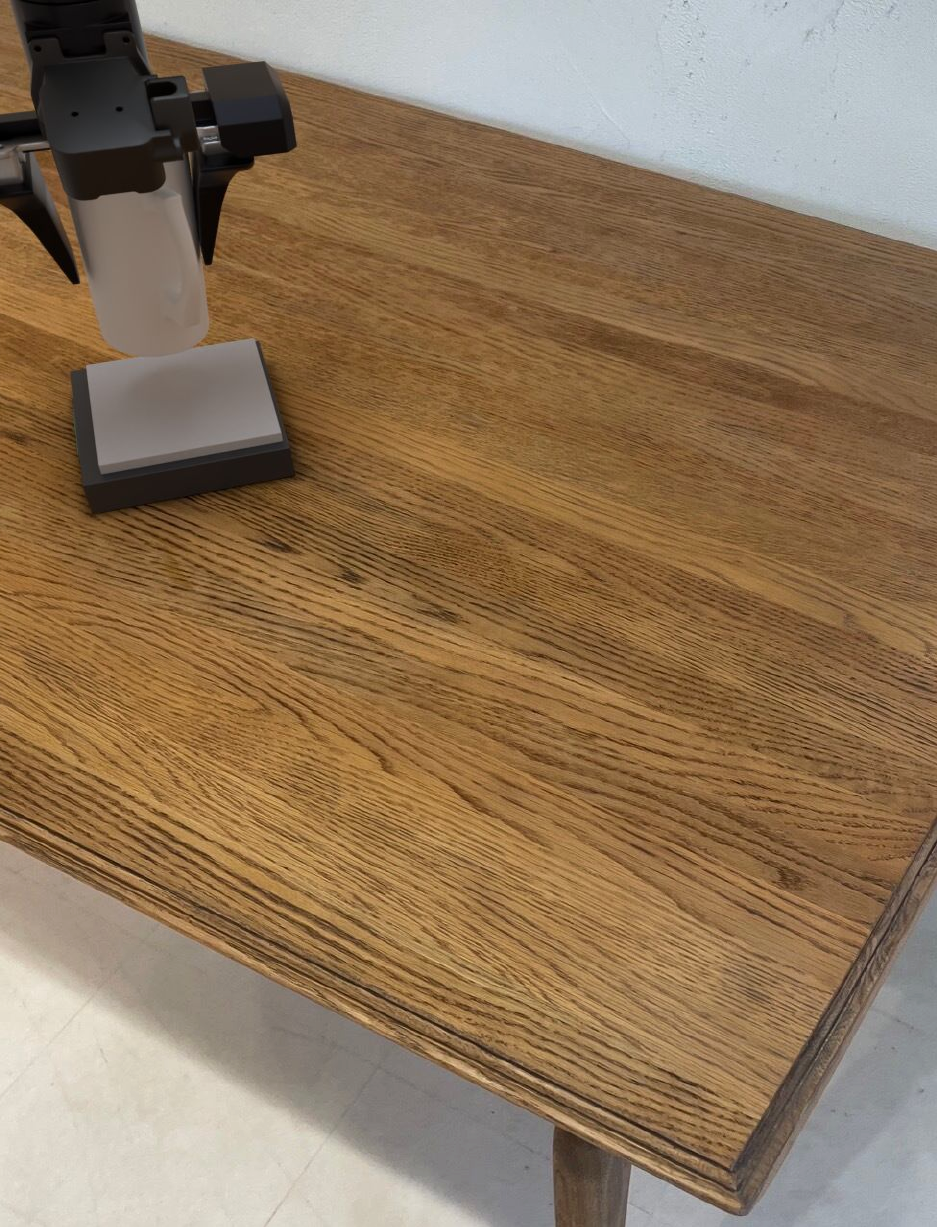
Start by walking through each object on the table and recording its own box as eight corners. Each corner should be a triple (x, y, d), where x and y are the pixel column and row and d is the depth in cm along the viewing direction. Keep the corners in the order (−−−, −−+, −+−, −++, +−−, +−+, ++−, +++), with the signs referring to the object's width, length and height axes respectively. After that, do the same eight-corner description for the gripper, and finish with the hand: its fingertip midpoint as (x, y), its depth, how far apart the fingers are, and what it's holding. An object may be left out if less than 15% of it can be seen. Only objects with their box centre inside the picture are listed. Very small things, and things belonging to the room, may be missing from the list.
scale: (89, 515, 77) (76, 477, 75) (76, 399, 85) (64, 362, 83) (295, 475, 80) (288, 438, 78) (264, 367, 88) (257, 331, 86)
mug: (77, 319, 78) (32, 124, 69) (180, 288, 81) (149, 99, 73) (155, 401, 73) (117, 201, 64) (262, 364, 76) (239, 170, 68)
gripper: (-152, 71, 55) (-33, 379, 66) (292, 27, 59) (333, 320, 71) (-140, -23, 62) (-35, 268, 73) (255, -56, 67) (298, 222, 78)
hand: (142, 271), depth 73 cm, fingers closed on mug, 7 cm apart
